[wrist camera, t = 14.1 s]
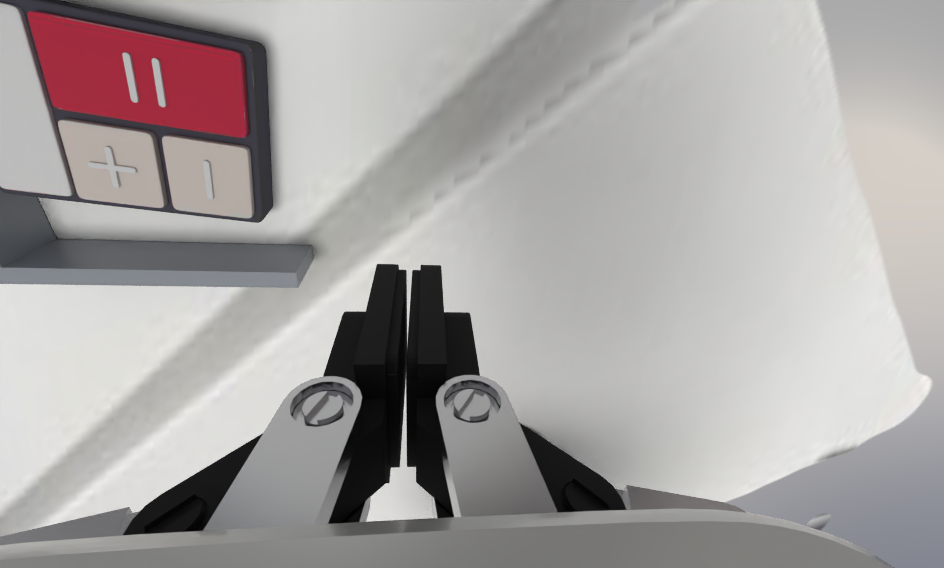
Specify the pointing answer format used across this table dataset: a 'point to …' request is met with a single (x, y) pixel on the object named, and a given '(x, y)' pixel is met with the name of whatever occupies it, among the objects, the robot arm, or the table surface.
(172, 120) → the dark long red-fronted box
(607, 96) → the table surface
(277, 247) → the box
